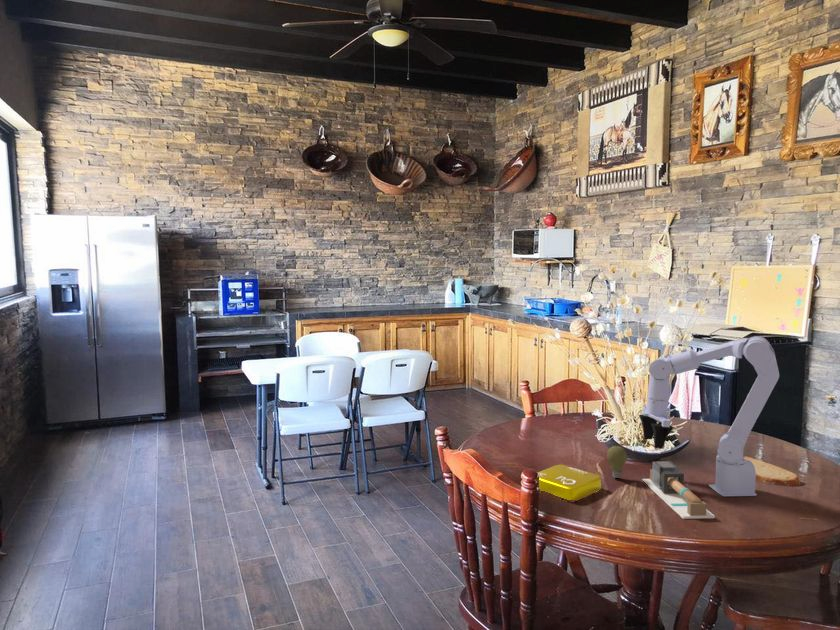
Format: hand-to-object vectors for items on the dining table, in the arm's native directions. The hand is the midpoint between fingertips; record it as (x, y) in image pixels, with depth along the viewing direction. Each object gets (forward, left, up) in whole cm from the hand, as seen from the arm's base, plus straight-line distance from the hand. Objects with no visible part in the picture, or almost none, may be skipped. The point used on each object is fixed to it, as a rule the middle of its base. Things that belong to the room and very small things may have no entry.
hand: (653, 443), depth 174 cm
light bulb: (+11, 0, -11) cm, 15 cm away
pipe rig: (0, +15, -11) cm, 18 cm away
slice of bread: (-34, -3, -11) cm, 36 cm away
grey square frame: (0, +13, -10) cm, 16 cm away
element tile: (+28, +7, -12) cm, 31 cm away
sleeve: (0, +8, -10) cm, 12 cm away
